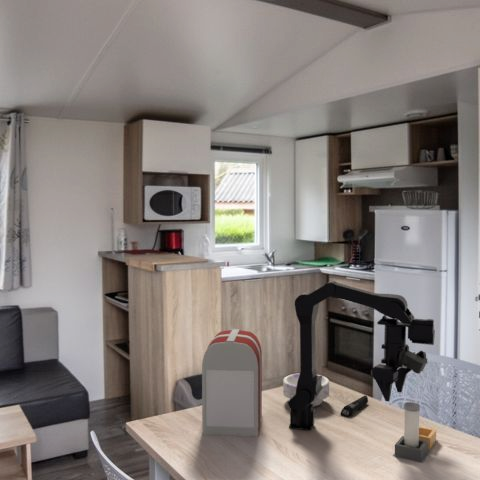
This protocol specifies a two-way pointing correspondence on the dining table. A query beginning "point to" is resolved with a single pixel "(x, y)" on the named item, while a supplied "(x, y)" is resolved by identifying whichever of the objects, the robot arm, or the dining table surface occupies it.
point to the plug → (411, 424)
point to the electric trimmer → (354, 406)
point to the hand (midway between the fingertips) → (393, 396)
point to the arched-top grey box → (232, 384)
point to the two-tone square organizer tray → (425, 446)
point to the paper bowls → (291, 386)
